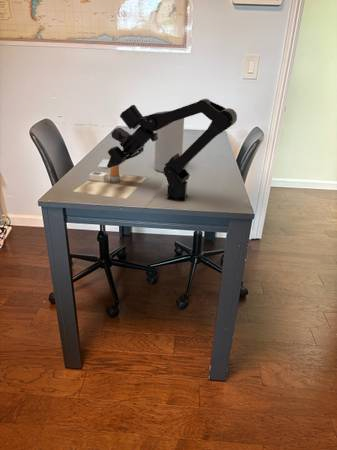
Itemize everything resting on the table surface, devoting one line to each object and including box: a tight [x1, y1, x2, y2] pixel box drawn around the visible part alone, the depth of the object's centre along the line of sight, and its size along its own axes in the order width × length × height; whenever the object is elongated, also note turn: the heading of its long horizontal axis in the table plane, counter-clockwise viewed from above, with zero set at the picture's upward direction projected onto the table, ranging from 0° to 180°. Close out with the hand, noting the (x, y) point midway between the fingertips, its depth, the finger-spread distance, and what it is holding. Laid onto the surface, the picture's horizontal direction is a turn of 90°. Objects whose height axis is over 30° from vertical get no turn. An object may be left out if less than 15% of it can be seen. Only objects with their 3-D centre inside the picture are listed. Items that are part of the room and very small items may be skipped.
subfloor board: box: [73, 171, 147, 200], centre depth 133 cm, size 21×24×2 cm
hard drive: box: [97, 158, 110, 170], centre depth 160 cm, size 2×8×12 cm
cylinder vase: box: [154, 118, 185, 174], centre depth 152 cm, size 12×12×25 cm
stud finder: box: [88, 171, 108, 182], centre depth 136 cm, size 6×4×2 cm, turn 76°
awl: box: [109, 155, 121, 183], centre depth 133 cm, size 4×4×13 cm
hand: (113, 163), depth 132 cm, fingers open, 9 cm apart
